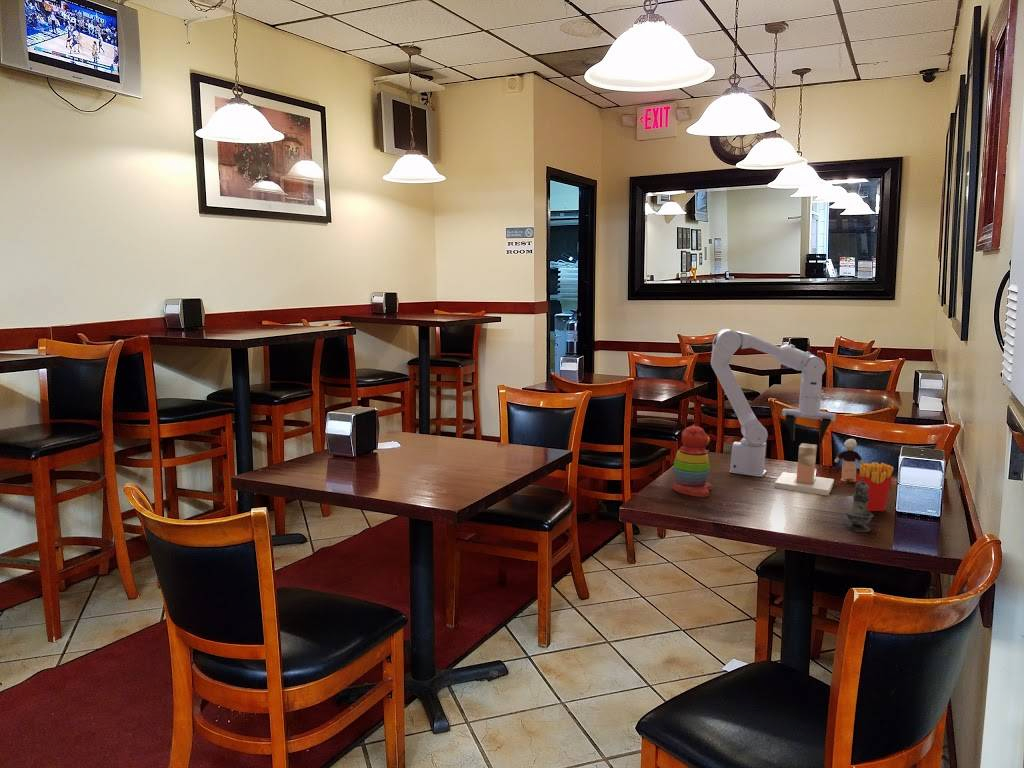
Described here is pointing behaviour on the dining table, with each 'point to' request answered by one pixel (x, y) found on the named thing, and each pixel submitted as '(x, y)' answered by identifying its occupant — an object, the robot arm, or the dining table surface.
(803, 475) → the terracotta brick
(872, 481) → the french fries
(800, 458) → the birch brick
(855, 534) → the dining table surface
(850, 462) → the grandmother figurine
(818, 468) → the dining table surface
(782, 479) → the tower plate
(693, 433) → the stacking bear
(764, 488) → the dining table surface
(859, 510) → the grey stone statuette
